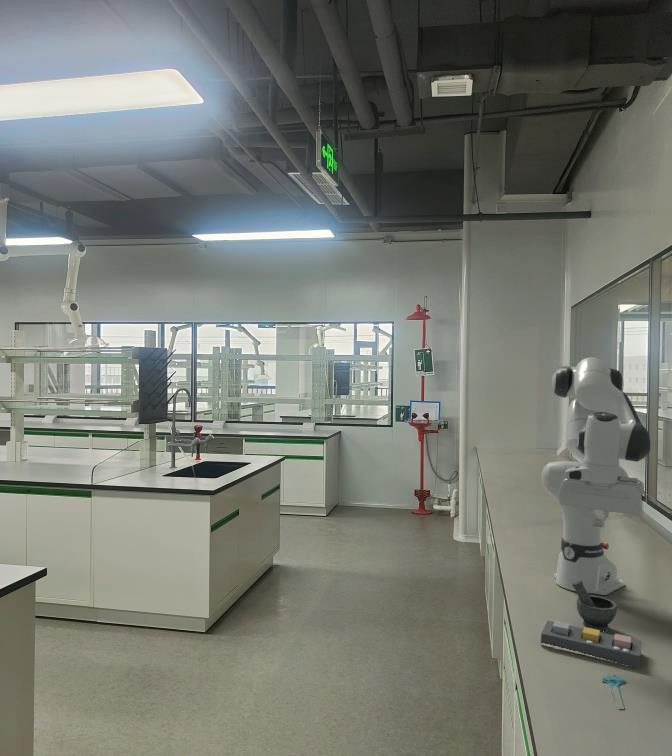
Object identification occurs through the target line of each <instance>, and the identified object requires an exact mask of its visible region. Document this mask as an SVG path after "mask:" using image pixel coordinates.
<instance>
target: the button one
mask: <svg viewBox="0 0 672 756" xmlns="http://www.w3.org/2000/svg"><path fill="white" fill-rule="evenodd" d="M583 628H584V629H583V634H582V639H585V640H589V641H594V642H598V643H599V639H600V630H596V629H592V628H587V627H584V626H583Z"/></svg>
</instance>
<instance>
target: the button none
mask: <svg viewBox="0 0 672 756" xmlns="http://www.w3.org/2000/svg"><path fill="white" fill-rule="evenodd" d="M553 622H554V624H553V629H552V632H554V633H558V634H563V635H567V636H568V635H569V632H570V626H571V624H570V623H569V622H568V623H567V622H563V621H559V620H554V621H553Z"/></svg>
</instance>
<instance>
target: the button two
mask: <svg viewBox="0 0 672 756" xmlns="http://www.w3.org/2000/svg"><path fill="white" fill-rule="evenodd" d="M614 635H615V636H614V646H616V647H620V648H625V649H629V650H630V648H631V639H632V636H628V635H624V634H619V633H614Z"/></svg>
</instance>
